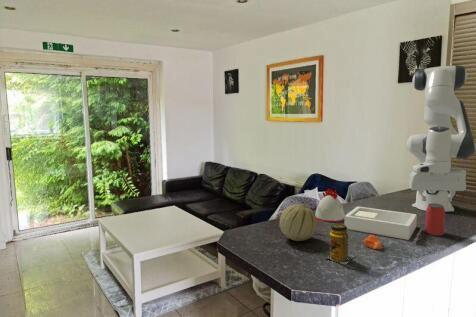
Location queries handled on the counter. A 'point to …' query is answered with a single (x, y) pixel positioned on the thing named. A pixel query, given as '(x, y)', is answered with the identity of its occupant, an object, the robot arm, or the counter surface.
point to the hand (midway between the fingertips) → (436, 201)
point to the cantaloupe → (298, 222)
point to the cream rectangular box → (367, 215)
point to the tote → (382, 223)
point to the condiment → (339, 244)
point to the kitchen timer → (330, 208)
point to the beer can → (435, 219)
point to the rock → (373, 242)
